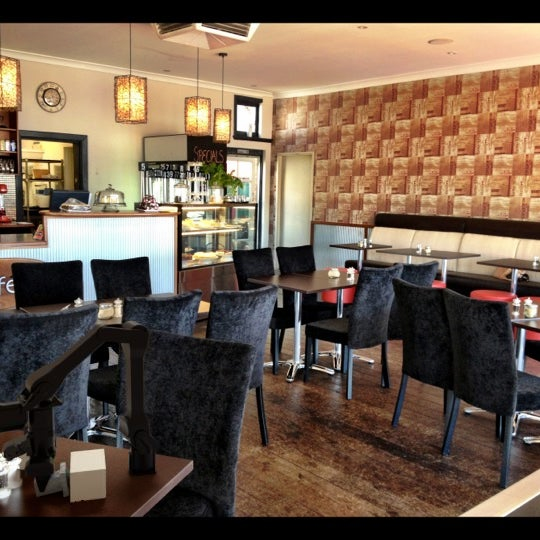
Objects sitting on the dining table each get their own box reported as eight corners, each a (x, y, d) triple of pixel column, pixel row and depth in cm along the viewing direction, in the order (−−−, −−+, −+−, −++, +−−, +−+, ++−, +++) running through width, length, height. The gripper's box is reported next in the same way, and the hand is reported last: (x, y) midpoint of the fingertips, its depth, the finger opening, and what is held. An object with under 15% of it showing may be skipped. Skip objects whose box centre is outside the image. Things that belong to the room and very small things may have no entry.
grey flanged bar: (94, 477, 146) (90, 455, 145) (94, 488, 140) (90, 465, 139) (39, 492, 142) (34, 469, 141) (37, 504, 136) (32, 480, 135)
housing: (104, 475, 149) (103, 448, 149) (105, 497, 138) (105, 468, 137) (71, 479, 147) (71, 452, 146) (70, 502, 136) (70, 472, 135)
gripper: (8, 415, 144) (10, 475, 145) (-2, 444, 126) (0, 512, 128) (56, 411, 147) (57, 469, 149) (53, 439, 130) (54, 505, 131)
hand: (42, 488), depth 139 cm, fingers closed on grey flanged bar, 4 cm apart
